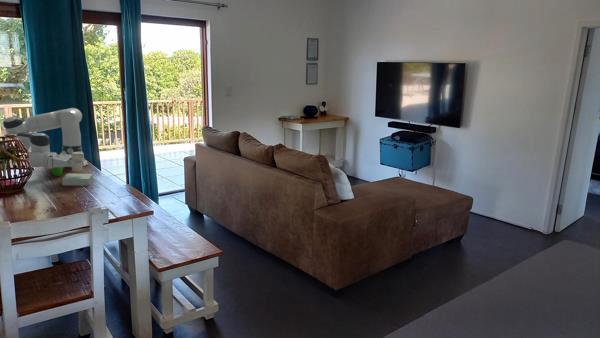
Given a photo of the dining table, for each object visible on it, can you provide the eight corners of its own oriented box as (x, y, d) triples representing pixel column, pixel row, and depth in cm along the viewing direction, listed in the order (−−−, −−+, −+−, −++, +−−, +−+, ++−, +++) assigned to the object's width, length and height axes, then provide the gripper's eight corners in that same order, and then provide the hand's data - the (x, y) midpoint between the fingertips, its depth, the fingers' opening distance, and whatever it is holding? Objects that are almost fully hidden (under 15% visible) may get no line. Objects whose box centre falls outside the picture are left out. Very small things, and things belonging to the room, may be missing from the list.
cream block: (73, 168, 258) (73, 152, 256) (82, 169, 260) (82, 152, 258) (71, 170, 254) (71, 153, 252) (81, 170, 255) (81, 154, 253)
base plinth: (67, 179, 262) (67, 173, 262) (92, 180, 266) (92, 173, 266) (62, 185, 250) (62, 178, 249) (89, 185, 254) (88, 178, 254)
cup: (68, 174, 276) (68, 157, 274) (59, 177, 267) (59, 159, 265) (55, 172, 277) (54, 155, 275) (45, 175, 268) (45, 158, 266)
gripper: (57, 161, 262) (82, 162, 266) (48, 169, 243) (75, 169, 247) (56, 151, 261) (82, 152, 265) (47, 157, 242) (75, 158, 246)
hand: (78, 160), depth 256 cm, fingers closed on cream block, 5 cm apart
